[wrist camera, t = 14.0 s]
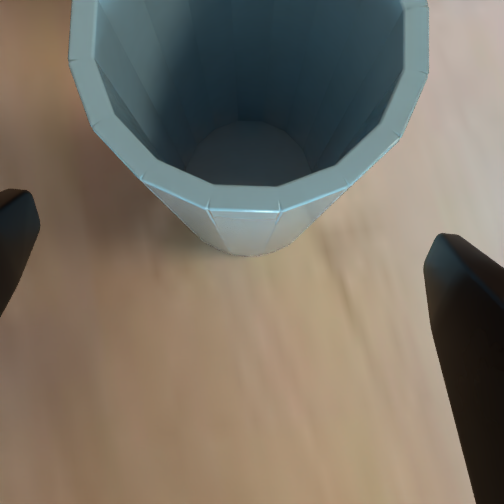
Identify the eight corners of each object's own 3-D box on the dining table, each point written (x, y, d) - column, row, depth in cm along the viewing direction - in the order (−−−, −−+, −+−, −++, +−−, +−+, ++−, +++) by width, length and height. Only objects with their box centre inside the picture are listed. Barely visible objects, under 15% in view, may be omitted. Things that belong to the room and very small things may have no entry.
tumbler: (339, 227, 20) (485, 136, 8) (206, 277, 20) (139, 265, 8) (288, 98, 21) (350, -181, 8) (158, 145, 21) (20, -68, 8)
